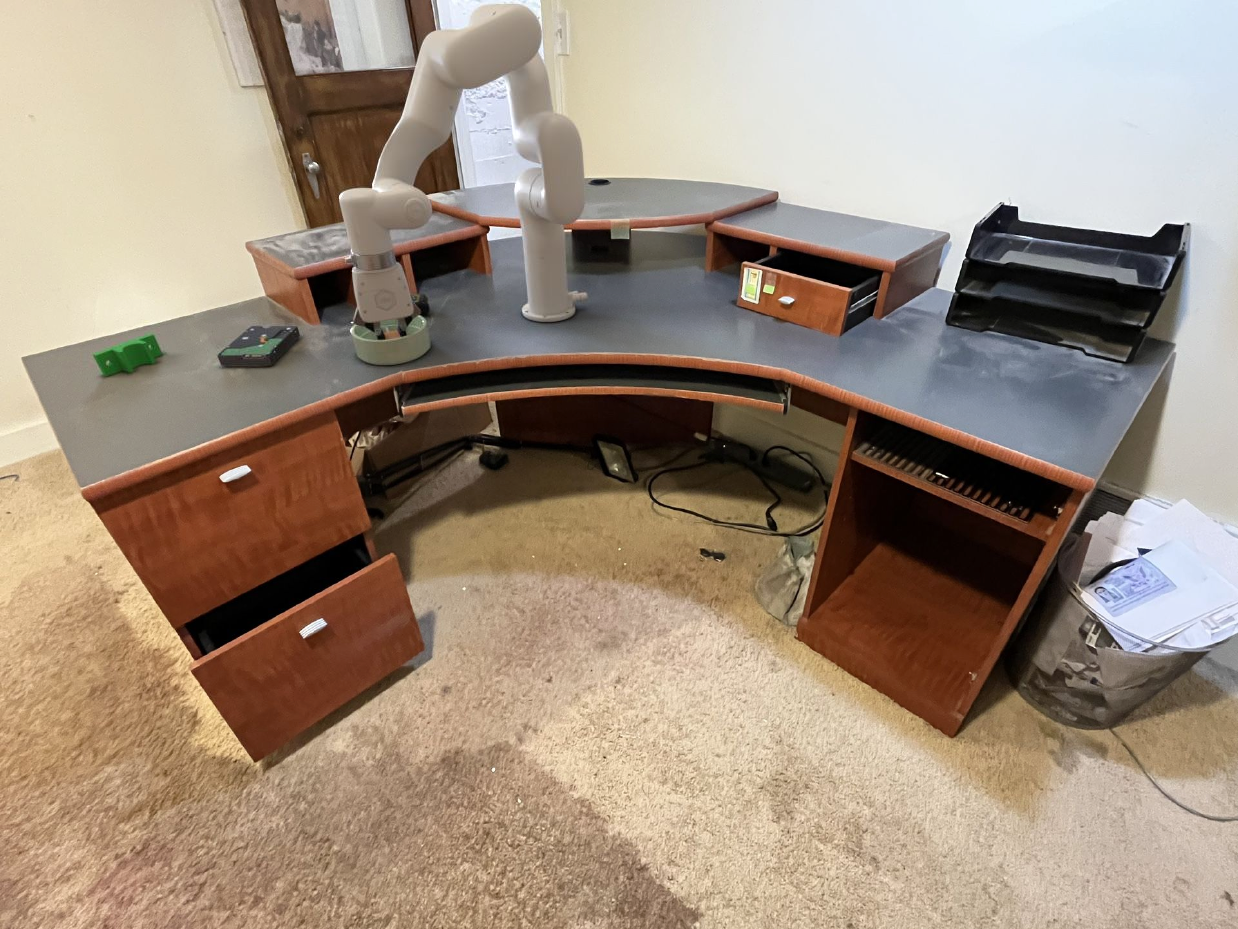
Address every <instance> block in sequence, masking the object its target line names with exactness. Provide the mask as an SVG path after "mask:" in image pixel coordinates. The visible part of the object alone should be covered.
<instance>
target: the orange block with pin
mask: <svg viewBox="0 0 1238 929" xmlns="http://www.w3.org/2000/svg"><path fill="white" fill-rule="evenodd" d="M384 328H385V329H386V331H387V332H384V335H385V340H388V339H395V338H400V337H401V336H400V335H399V333H398V331H397V330H395V331H389V328H388V327H384Z"/></svg>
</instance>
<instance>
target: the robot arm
mask: <svg viewBox="0 0 1238 929" xmlns="http://www.w3.org/2000/svg"><path fill="white" fill-rule="evenodd" d="M542 39H543V31H542V26H541V23H540V21H539V19H538V17H537V15H536V14H535V13H534V12H533V10H531V9H530V8H529V7H527V6H525V5H524V4H520V3H492V4H491V3H489V4H484V5H481V6H478V7H476V8H475V9H474V11H472V13H471V14H470V16H469V18H468V26H466V27H463V28H460V29H437V30H434V31H431V32H429V33H428V34H427V35H426V36H425V38H424V39H423V41H422V44H421V46H420V49H419V53H418V56H417V60H416V63H415V67H414V71H413V75H412V79H411V82H410V86H409V90H408V94H407V97H406V101H405V104H404V107H403V111H402V115H401V117H400V119H399V121H398V122H397V124H396V126H395V127H394V129H393V131H392V132H391V135H390V136H389V138H388V140H387V141H386V143H385V145H384V146H383V149H382V152H381V153H380V156H379V159H378V163H377V167H376V171H375V175H374V178H373V182H372V188H370V187H357V188H350V189H347V190H344V191H342V192H341V193H340V195H339V197H338V198H339V201H338V202H339V206H340V211H341V214H342V218H343V223H344V227H345V231H346V234H347V239H348V243H349V247H350V252H351V253H349V254H350V255H348V256H344V262H345V264H346V265H353V267H352V270H351V272H352V274H351V275H352V283H353V284H352V285H353V292H354V297H355V303H356V308H355V311H354V315H353V317H352V323H353V324H354V325H358V326H362V327H366V328H367V329H369V330H371V331H372V332H374V333H375V334H376V336H377V340H385V335H384V333H383V330H382V329H381V326H380V321H386V320H392V319H397V321H398V326H397V327H398V328H397V331H398V333H399V335H400V336H401V337H404V336H407V334H406V330H407V327H408V325H409V324H410V323H411V321H412V320H413V319H414V318H416V317H417V316H418V315H420V314H421V311H420V309H419V308H418V307H417V306H416V304H415V303H414V302H413V301H412V299H411V295H412V294H411V291H410V288H409V284H408V279H407V277H406V273H405V271H404V268H403V266H402V264H401V263H400V262H398V261H397V260H396V255H395V249H394V245H393V239H392V235H391V231H393V230H394V231H395V230H403V231H404V230H405V231H407V230H417V229H420V228H422V227H424V226H425V225H426V224H428V223H429V221H430V219H431V217H432V214H433V206H432V203H431V201H430V199H429V197H428V196H427V194H426V193H425V192H423V191H422V190H421V189H419V188H418V187H415V186H414V184H415V181H416V177H417V174H418V172H419V169H420V168H421V165H423V162H424V161H425V160H426V158H427V157H428V156H429V155H430V154H431V153H432V152H434V151H435V150H437V149H438V148H440V147H441V146H443V145H444V144H445V143H446V142H447V141H448V139H449V138H450V136H451V133H452V128H453V126H454V122H455V118H456V114H457V111H458V108H459V104H460V101H461V98H462V95H463V92H464V90H474V89H478V88H480V87H481V88H482V86H486V85H488V84H489V83H491V82H494V81H496V80H498V79H500V78H502V79H503V82H504V85H505V89H506V95H507V101H508V108H509V114H510V115H509V116H510V122H511V123H510V124H511V131H512V139H513V145H514V148H515V150H516V152H517V153H518V155H519V156H520V157H521V158H522V159H524V160H527V161H529V162H531V163H535V164H539V165H540V167H537V166H536V167H535V166H534V167H530V168H526V169H525V170H523V171H522V172H521V173H520V174H519V176H518V177H517V179H516V181H515V185H514V190H513V191H514V192H513V193H514V194H513V195H514V202H515V206H516V211H517V214H518V218H519V223H520V230H521V237H522V249H523V250H522V251H523V261H524V272H525V282H526V284H525V285H526V294H527V303H526V304H524V305H523V306H522V308H521V312H522V315H523V316H524V317H525V318H526V319H527V320H531V321H534V322H538V323H539V322H541V323H553V322H555V323H556V322H559V321H564V320H567V319H569V318H571V317H572V316H574V315H575V313H576V306H575V304H576V303H579V302H586V301H587V300H588V299H589V298H588V293H587V292H585V291H584V292H579V291H578V290H574V291H570V290H569V286H568V268H567V248H566V246H567V245H566V244H567V243H566V232H565V228H564V226H566V225H570V224H573V223H575V222H576V221H578V219H580V217H581V216H582V214H583V212H584V208H585V206H586V205H585V204H586V180H585V179H586V178H585V166H584V165H585V164H584V163H585V162H584V152H583V151H584V150H583V142H582V138H581V134H580V132H579V129H578V128H577V126H576V124H575V122H573V120H572V119H571V118H569V117H567V115H564V114H562V113H558V112H555V111H554V106H553V99H552V92H551V84H550V78H549V75H548V70H547V67H546V65H545V62H544V61H543V60H544V59H543V58H542V56H541V54H540V52H539V51H540V48H541V45H542ZM421 315H422V314H421ZM421 315H420V316H421Z"/></svg>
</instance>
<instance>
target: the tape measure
mask: <svg viewBox="0 0 1238 929" xmlns="http://www.w3.org/2000/svg"><path fill="white" fill-rule="evenodd" d="M410 295H411V299H412V301H413V302H414V303H415V304H416V306H417V307H418V308H419V309H420V311H421V314H420V316H422V315H425V314H428V313H429V312H430V305H429V297H427V296H426V294H425V293H420V294H410Z"/></svg>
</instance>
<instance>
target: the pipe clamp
mask: <svg viewBox="0 0 1238 929" xmlns="http://www.w3.org/2000/svg"><path fill="white" fill-rule="evenodd" d="M92 356H93V358H94V361H95V362H96V364H97V365H98V368H99V369H100V371H101V373H102V375H103V376H105V377H109V376H111V375H112V376H113V375H115V374H117V373H119V372H122V371H123V372H125V373H126V372H127V373H130V374H131V373H134V372H135V370H134V369H135V368H137V367H138V366H143V365H146V364H150V365H154V364H156V363H157V361H156V359H155V358H158V357H160V356H163V351H162V349H161V347H160V345H159V343H158V341H157V339H156V336H155V335H154V334H153V333H147V334H145V335H142V336H139V337H137V338H134V339H131V340H129V341H125V342H123V343H119V344H118V345H114V346H112V347H109V348H107V349H103V350H101V351H98V352H96V353H93V354H92ZM107 362H108V364H107Z"/></svg>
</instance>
